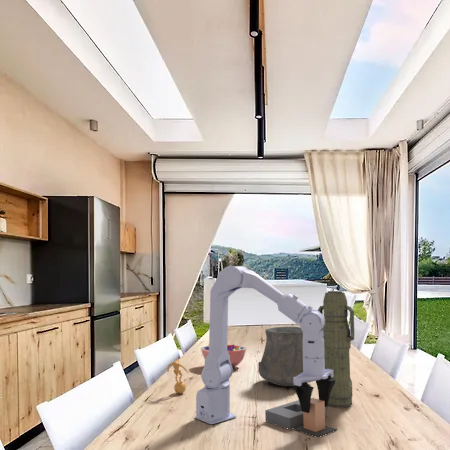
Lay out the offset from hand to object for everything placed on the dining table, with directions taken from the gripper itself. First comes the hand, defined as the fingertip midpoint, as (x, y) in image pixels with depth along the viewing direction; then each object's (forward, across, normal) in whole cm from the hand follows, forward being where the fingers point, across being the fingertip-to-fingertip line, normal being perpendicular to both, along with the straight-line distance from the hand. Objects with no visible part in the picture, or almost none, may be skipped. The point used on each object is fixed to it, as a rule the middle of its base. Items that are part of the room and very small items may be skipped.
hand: (314, 408), depth 120 cm
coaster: (+5, 0, 0) cm, 5 cm away
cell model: (+6, +30, +73) cm, 79 cm away
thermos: (+6, +24, +10) cm, 27 cm away
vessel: (+6, +30, +36) cm, 47 cm away
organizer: (+5, +3, +9) cm, 11 cm away
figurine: (+6, -8, +52) cm, 53 cm away
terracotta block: (+5, 0, 0) cm, 5 cm away
